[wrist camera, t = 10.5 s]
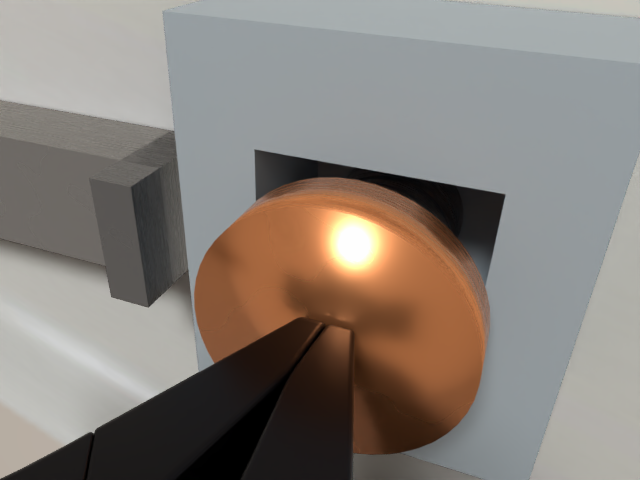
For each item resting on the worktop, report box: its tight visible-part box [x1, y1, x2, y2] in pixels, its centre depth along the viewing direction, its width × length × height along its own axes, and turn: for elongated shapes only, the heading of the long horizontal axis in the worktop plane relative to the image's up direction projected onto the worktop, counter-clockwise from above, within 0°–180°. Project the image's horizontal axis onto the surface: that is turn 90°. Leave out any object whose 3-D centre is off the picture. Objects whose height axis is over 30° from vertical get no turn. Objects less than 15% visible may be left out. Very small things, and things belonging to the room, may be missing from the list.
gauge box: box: [163, 0, 640, 480], centre depth 11 cm, size 8×7×4 cm
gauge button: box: [194, 167, 490, 455], centre depth 10 cm, size 4×4×4 cm
